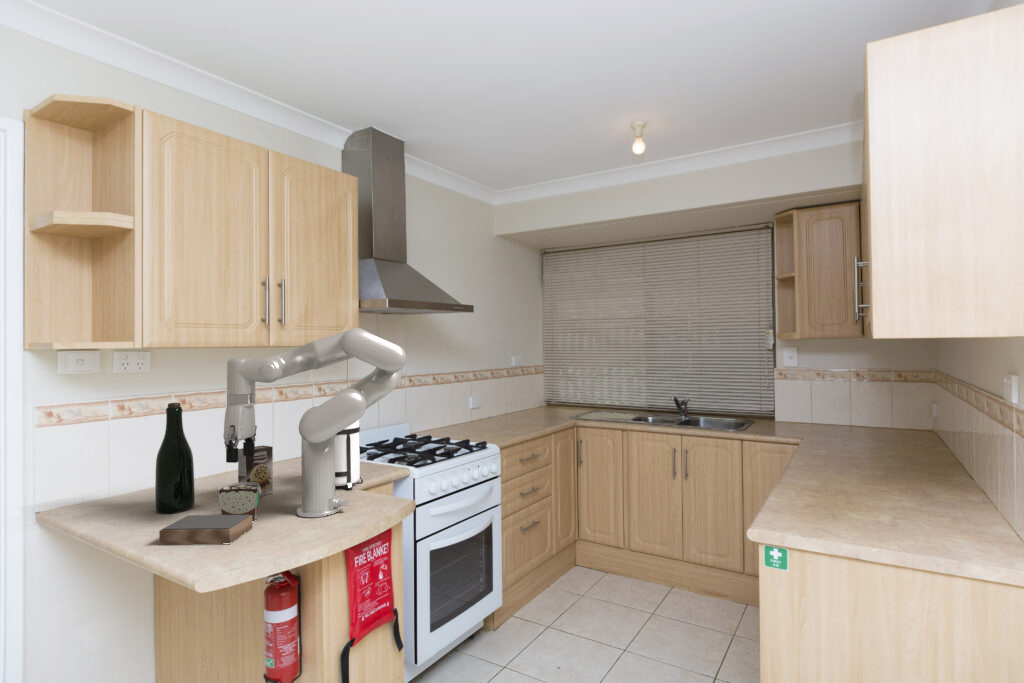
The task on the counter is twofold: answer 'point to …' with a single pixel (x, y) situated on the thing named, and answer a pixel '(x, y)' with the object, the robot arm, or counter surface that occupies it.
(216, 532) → the plinth
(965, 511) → the counter surface
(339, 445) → the coffee press
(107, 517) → the counter surface
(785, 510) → the counter surface
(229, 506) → the food container
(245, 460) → the coffee box
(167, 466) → the beer bottle
